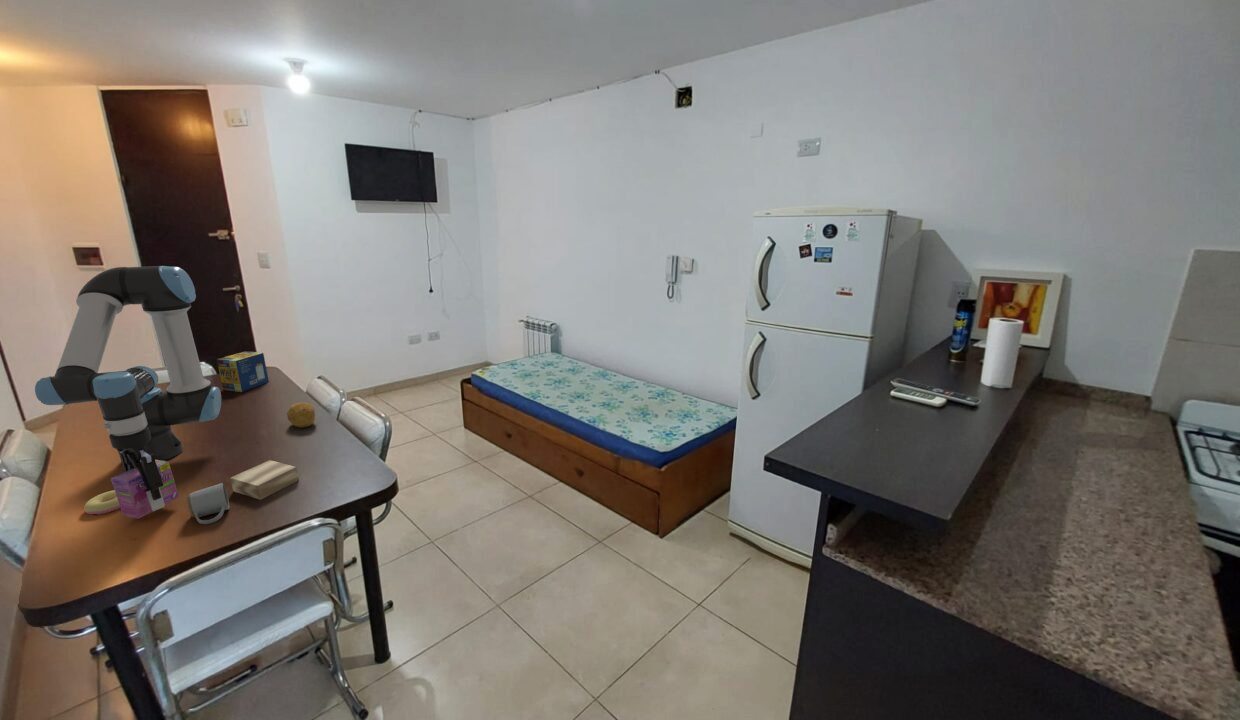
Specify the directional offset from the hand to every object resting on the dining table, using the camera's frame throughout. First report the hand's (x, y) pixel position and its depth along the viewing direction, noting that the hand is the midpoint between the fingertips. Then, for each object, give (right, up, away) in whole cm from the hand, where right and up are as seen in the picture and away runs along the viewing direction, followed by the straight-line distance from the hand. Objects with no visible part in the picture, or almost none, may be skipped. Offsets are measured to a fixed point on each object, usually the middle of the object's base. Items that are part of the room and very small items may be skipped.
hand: (151, 504), depth 134 cm
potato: (+3, +14, +59) cm, 61 cm away
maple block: (+21, +1, +16) cm, 26 cm away
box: (0, -1, 0) cm, 1 cm away
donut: (-16, -2, +4) cm, 16 cm away
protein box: (-52, +28, +100) cm, 116 cm away
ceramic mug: (+16, -3, +1) cm, 17 cm away
